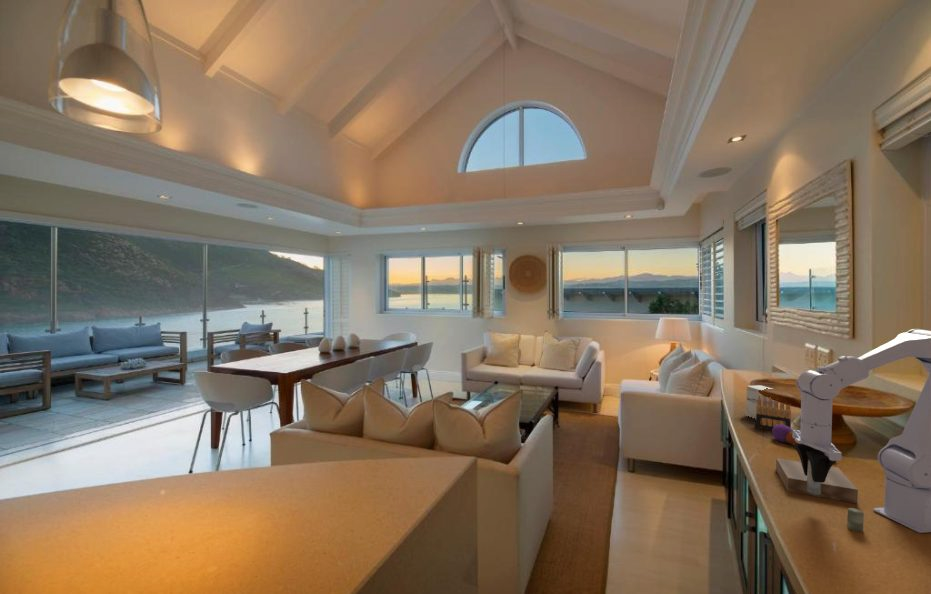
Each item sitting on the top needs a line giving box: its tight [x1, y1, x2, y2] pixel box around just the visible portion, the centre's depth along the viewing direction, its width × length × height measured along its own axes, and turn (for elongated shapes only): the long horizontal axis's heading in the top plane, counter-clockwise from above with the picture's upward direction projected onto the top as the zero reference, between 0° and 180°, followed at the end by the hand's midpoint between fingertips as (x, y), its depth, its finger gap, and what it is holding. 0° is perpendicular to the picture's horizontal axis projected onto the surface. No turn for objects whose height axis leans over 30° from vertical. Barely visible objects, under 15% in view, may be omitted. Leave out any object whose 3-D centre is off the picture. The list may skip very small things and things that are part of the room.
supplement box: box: [745, 385, 775, 420], centre depth 171 cm, size 7×7×13 cm
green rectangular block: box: [846, 507, 865, 533], centre depth 94 cm, size 3×3×4 cm
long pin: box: [807, 458, 821, 495], centre depth 101 cm, size 3×3×8 cm
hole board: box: [775, 457, 859, 504], centre depth 114 cm, size 14×14×4 cm
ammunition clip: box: [754, 396, 792, 430], centre depth 158 cm, size 11×2×12 cm, turn 54°
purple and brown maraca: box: [771, 423, 799, 445], centre depth 139 cm, size 6×6×20 cm
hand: (814, 478), depth 101 cm, fingers closed on long pin, 3 cm apart
